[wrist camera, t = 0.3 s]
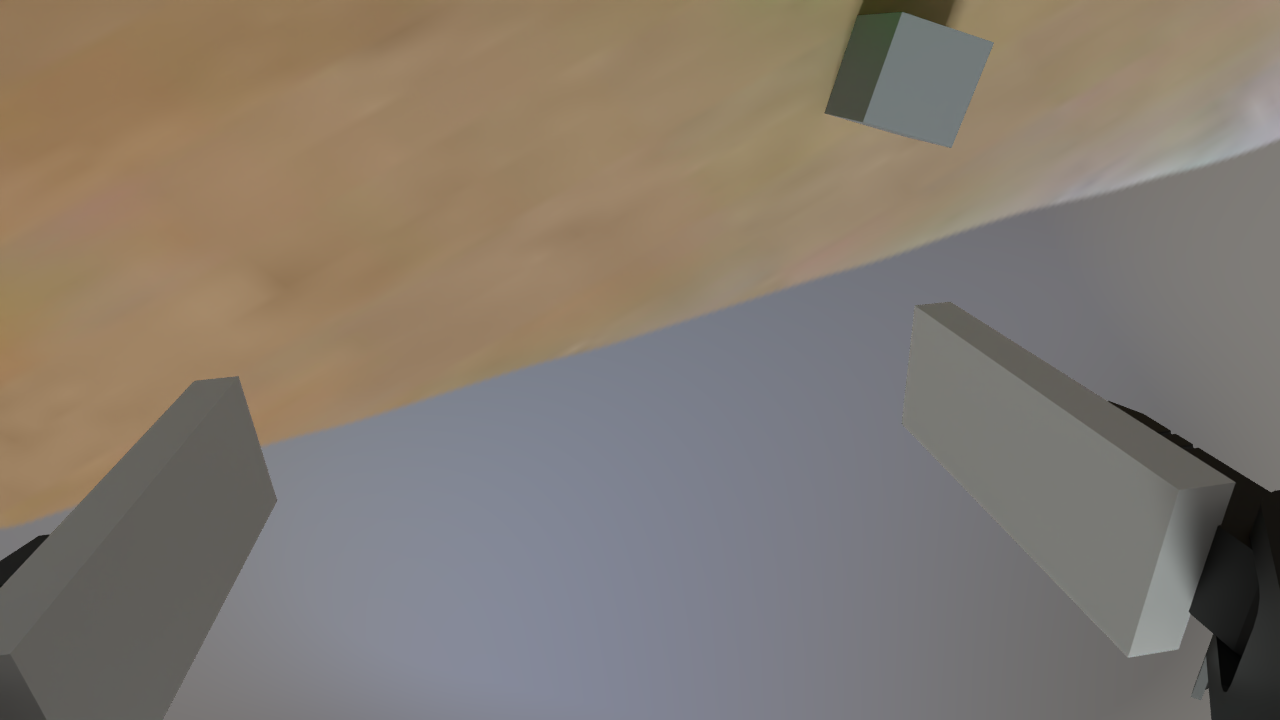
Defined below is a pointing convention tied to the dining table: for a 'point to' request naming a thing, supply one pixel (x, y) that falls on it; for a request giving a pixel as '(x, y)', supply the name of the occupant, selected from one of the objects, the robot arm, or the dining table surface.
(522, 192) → the dining table surface
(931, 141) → the slate grey cube
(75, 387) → the dining table surface
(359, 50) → the dining table surface
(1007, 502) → the robot arm
